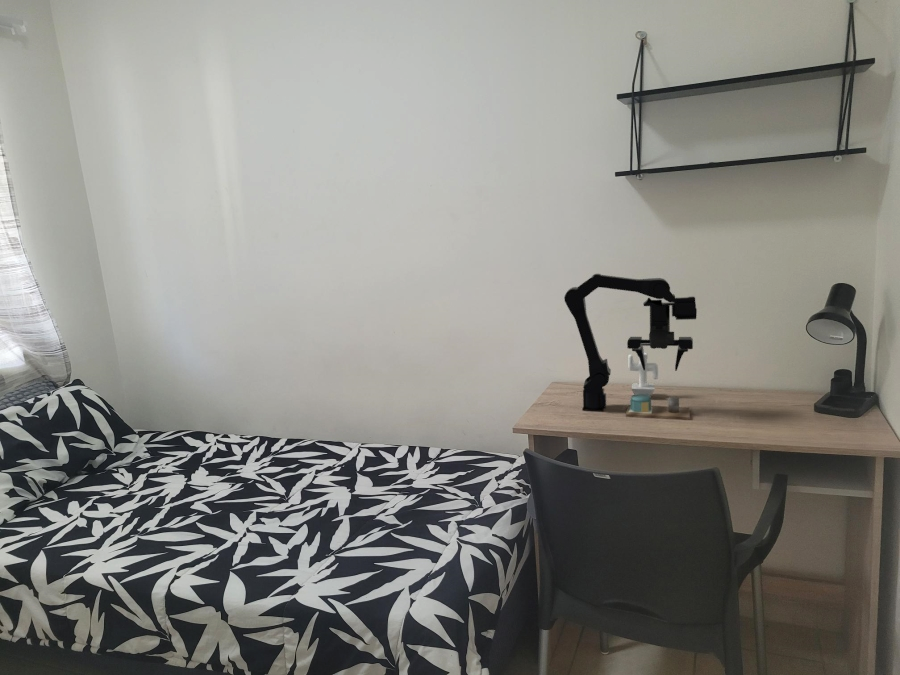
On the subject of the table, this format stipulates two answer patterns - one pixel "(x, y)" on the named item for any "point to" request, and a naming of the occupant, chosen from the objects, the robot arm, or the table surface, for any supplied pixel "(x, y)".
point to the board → (663, 411)
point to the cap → (640, 403)
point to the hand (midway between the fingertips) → (660, 370)
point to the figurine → (643, 376)
